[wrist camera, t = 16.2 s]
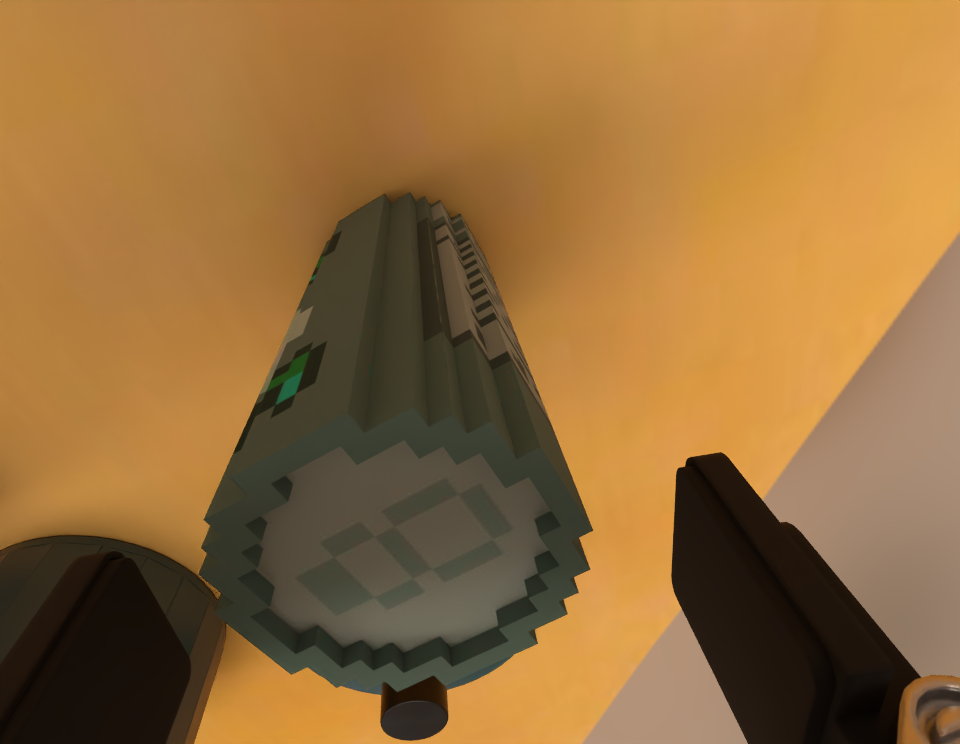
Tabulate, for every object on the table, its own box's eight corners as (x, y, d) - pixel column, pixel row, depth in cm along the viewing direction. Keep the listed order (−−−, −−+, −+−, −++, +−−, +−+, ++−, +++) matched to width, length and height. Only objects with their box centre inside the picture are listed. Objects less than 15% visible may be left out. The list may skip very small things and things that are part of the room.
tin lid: (249, 527, 28) (206, 652, 22) (525, 480, 28) (556, 590, 22) (321, 694, 34) (303, 824, 28) (544, 653, 35) (572, 773, 29)
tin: (-97, 560, 26) (-293, 756, 19) (174, 515, 27) (84, 689, 19) (37, 715, 32) (-73, 909, 25) (256, 675, 33) (212, 855, 26)
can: (293, 248, 22) (119, 538, 9) (432, 164, 21) (475, 342, 8) (383, 369, 24) (356, 726, 11) (508, 299, 24) (636, 598, 10)
